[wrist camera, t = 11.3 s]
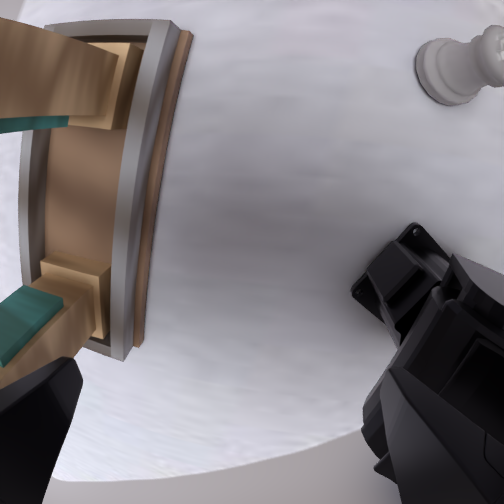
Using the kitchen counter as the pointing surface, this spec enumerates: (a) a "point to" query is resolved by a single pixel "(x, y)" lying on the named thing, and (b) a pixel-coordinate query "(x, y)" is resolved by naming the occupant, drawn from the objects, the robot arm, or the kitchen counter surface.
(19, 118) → the weathered wooden tray
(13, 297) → the oak finger
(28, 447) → the robot arm
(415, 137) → the kitchen counter surface
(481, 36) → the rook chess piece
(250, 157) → the kitchen counter surface
